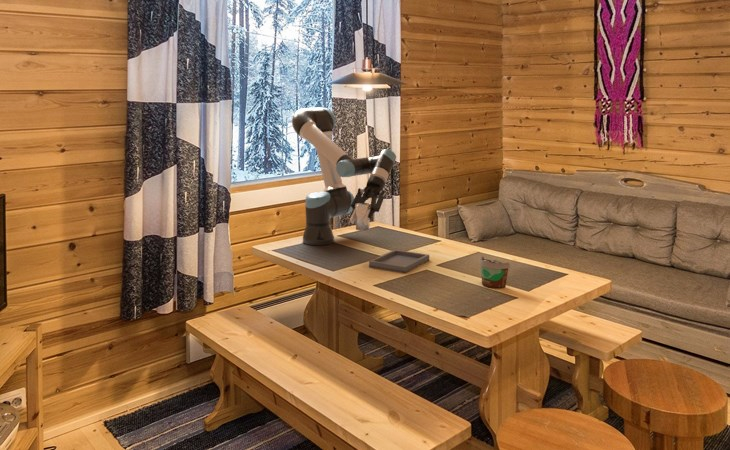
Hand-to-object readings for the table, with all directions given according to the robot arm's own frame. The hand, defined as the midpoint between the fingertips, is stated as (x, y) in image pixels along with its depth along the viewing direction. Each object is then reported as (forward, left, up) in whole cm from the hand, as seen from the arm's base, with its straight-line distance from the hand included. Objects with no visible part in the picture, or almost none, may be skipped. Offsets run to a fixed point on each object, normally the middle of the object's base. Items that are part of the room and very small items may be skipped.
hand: (358, 222), depth 270 cm
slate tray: (+19, +3, -16) cm, 25 cm away
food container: (+62, -6, -16) cm, 65 cm away
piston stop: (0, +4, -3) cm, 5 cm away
